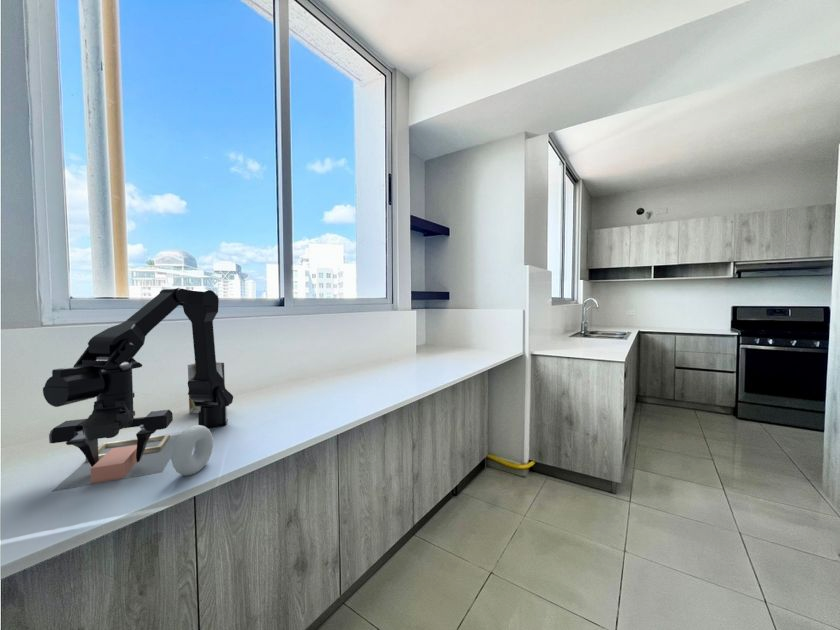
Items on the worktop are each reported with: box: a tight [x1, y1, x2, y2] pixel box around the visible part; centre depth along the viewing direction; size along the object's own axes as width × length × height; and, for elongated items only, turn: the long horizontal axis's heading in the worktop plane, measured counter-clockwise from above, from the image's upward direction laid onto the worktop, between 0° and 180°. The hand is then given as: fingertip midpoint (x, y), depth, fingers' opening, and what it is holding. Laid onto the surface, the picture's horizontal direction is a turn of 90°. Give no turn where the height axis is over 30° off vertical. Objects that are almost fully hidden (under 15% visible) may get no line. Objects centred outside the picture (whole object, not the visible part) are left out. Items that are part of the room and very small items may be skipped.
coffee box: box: [187, 361, 226, 414], centre depth 112 cm, size 9×6×16 cm
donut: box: [171, 424, 214, 476], centre depth 71 cm, size 10×4×10 cm, turn 178°
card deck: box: [91, 445, 137, 483], centre depth 71 cm, size 5×10×3 cm, turn 25°
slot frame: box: [85, 433, 171, 462], centre depth 81 cm, size 14×9×1 cm, turn 115°
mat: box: [51, 433, 182, 492], centre depth 77 cm, size 17×23×1 cm
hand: (117, 464), depth 71 cm, fingers open, 7 cm apart
